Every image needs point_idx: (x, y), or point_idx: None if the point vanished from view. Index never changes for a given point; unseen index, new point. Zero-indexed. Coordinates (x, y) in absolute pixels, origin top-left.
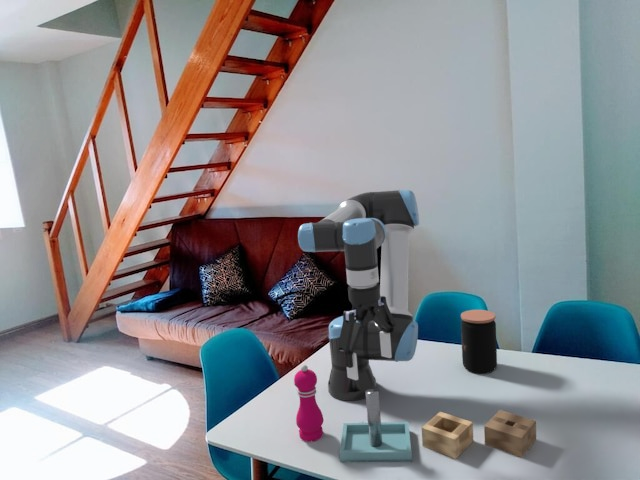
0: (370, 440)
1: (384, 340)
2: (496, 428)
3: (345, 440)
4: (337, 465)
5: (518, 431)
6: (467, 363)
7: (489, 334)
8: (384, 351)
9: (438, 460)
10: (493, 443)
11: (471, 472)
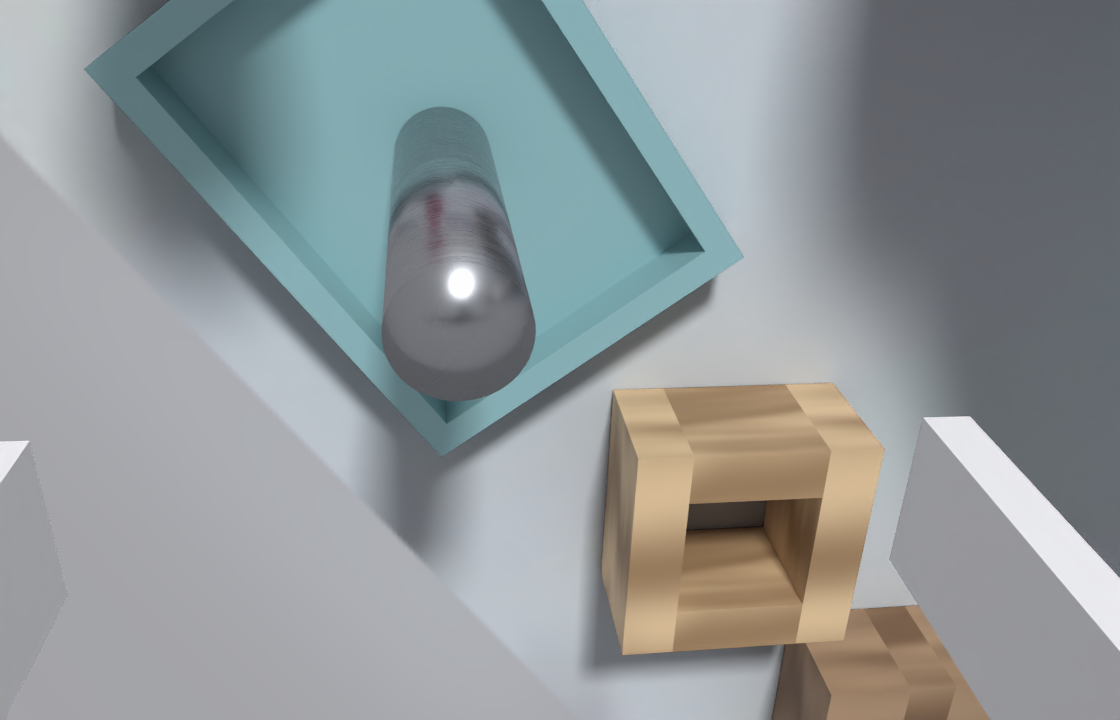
0: (395, 152)
1: (1068, 715)
2: None
3: None
4: (63, 59)
5: None
6: None
7: None
8: (950, 540)
9: (538, 517)
10: (792, 667)
11: (543, 663)
